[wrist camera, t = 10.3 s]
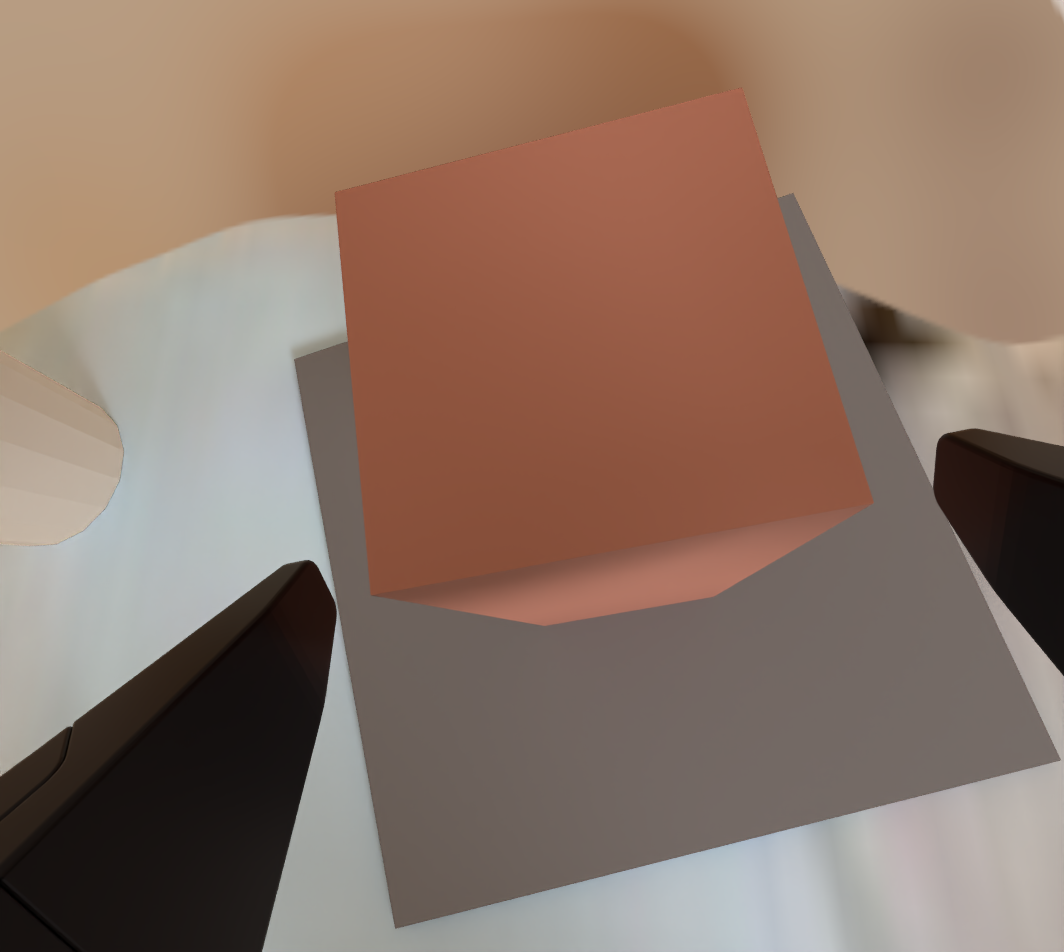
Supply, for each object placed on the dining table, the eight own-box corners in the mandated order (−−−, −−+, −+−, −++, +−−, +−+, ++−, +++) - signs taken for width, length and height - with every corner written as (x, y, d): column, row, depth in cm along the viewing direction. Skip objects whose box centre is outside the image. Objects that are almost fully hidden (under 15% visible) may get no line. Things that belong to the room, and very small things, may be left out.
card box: (713, 596, 18) (874, 502, 6) (544, 626, 19) (370, 594, 7) (675, 435, 20) (741, 87, 7) (518, 467, 20) (334, 192, 8)
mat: (1050, 757, 17) (1060, 760, 16) (400, 922, 18) (395, 928, 18) (790, 201, 22) (793, 193, 21) (299, 363, 23) (294, 359, 23)
